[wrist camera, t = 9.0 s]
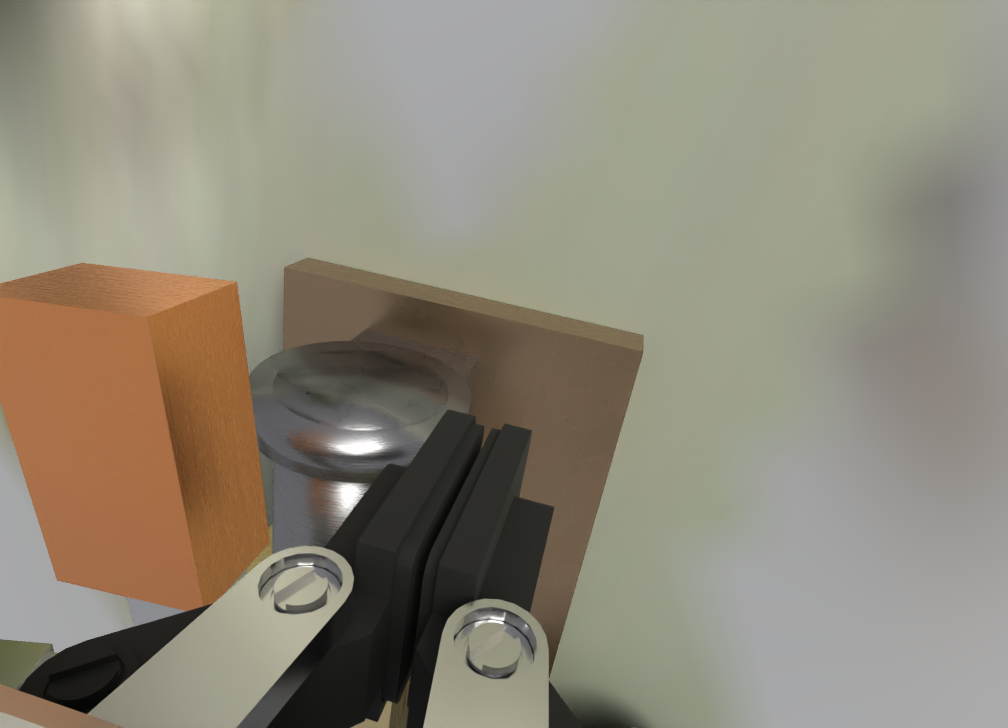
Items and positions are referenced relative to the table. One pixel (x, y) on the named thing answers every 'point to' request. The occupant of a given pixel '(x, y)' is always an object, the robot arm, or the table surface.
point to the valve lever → (135, 431)
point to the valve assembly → (435, 408)
